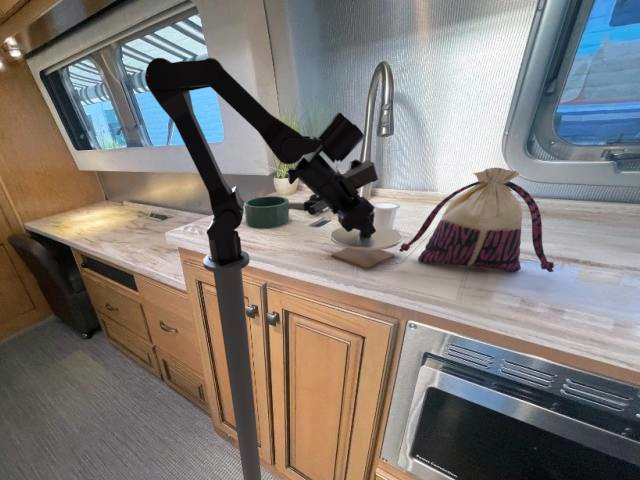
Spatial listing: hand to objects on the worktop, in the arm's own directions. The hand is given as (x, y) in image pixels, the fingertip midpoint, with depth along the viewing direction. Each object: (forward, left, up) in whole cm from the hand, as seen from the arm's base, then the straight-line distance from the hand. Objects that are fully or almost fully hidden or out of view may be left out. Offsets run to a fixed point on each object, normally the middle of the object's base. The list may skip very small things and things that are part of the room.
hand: (371, 230), depth 67 cm
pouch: (+9, -16, -6) cm, 20 cm away
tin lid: (-1, +1, -2) cm, 2 cm away
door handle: (+22, +40, -6) cm, 46 cm away
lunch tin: (+1, +39, -6) cm, 39 cm away
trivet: (-1, +1, -6) cm, 6 cm away
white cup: (+16, +8, -6) cm, 19 cm away
